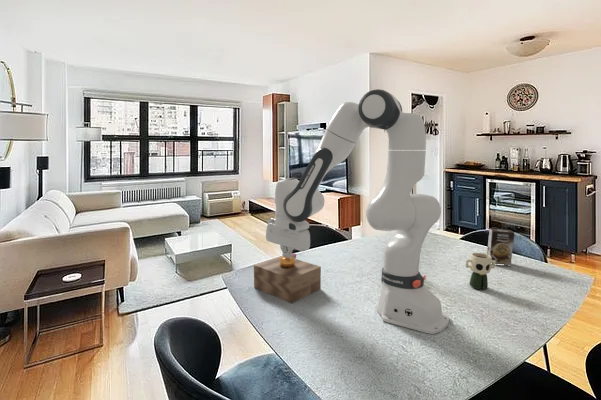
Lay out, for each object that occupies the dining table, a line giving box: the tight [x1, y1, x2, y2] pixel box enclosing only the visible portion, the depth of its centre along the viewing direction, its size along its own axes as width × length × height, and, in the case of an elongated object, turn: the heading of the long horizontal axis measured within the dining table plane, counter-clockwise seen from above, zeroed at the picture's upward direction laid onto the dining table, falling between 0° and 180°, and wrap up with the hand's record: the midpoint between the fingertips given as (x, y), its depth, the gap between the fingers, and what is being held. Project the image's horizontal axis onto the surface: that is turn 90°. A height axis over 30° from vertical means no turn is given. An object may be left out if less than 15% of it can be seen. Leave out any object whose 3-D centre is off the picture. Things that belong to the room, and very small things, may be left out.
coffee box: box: [486, 227, 515, 265], centre depth 158 cm, size 9×6×16 cm
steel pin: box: [280, 256, 296, 269], centre depth 130 cm, size 6×6×12 cm
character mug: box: [465, 252, 496, 290], centre depth 131 cm, size 11×7×13 cm, turn 85°
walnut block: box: [253, 254, 322, 304], centre depth 130 cm, size 20×16×9 cm
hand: (286, 257), depth 129 cm, fingers closed
